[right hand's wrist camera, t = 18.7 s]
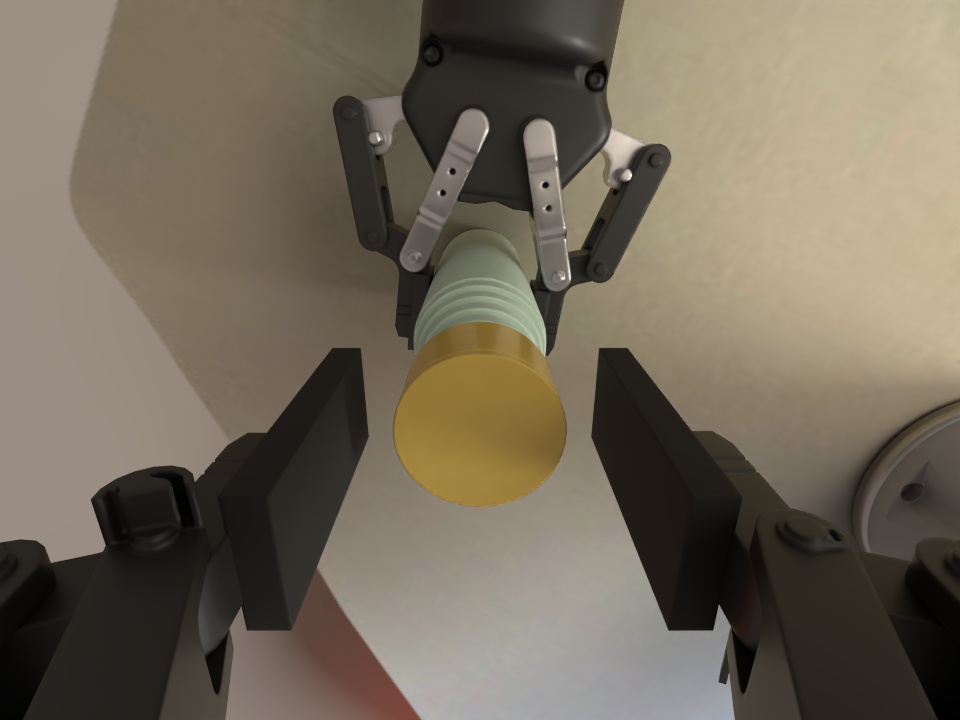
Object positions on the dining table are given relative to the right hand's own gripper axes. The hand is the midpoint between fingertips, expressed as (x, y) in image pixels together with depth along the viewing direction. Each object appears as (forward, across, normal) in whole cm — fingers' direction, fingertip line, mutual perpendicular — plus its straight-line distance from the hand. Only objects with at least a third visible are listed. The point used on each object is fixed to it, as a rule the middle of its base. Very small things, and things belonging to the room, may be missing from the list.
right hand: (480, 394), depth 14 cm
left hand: (+10, 0, -3) cm, 11 cm away
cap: (-2, 0, 0) cm, 2 cm away
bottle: (+17, 0, 0) cm, 17 cm away
